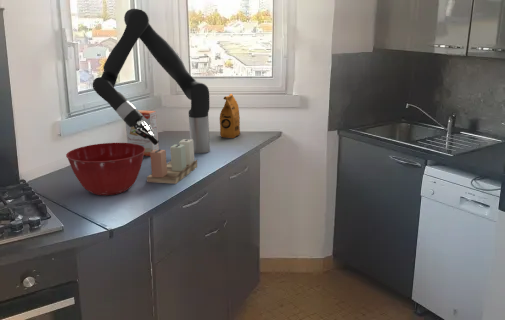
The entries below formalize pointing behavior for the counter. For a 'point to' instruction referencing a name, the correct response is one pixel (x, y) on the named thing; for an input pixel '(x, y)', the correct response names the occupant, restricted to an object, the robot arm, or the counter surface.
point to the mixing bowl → (107, 166)
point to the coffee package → (230, 118)
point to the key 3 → (158, 163)
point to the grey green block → (178, 157)
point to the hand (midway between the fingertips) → (157, 143)
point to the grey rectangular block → (188, 150)
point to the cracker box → (134, 138)
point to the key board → (173, 174)
